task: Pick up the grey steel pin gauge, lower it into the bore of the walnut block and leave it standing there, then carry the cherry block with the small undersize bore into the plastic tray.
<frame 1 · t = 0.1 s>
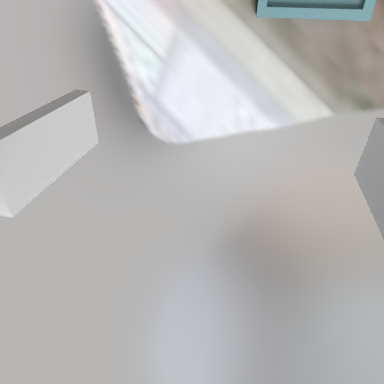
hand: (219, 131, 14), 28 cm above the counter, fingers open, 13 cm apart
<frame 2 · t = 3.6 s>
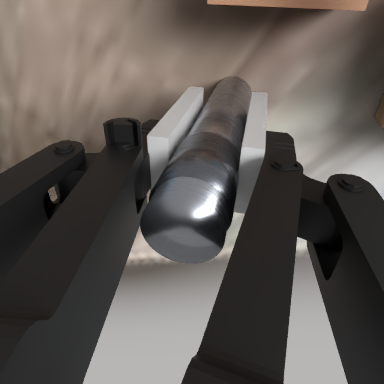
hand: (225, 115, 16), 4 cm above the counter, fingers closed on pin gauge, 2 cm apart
pin gauge: (232, 96, 19), on the counter, touching gripper
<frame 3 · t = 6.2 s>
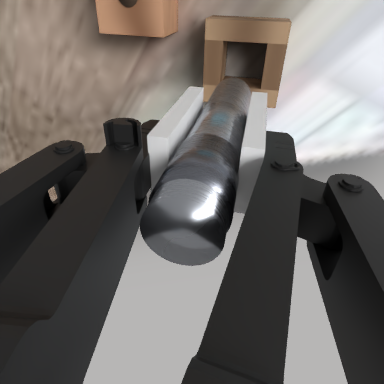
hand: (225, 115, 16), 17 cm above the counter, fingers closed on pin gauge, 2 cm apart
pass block: (245, 57, 29), on the counter
pin gauge: (232, 97, 19), point 13 cm above the counter, touching gripper
when the fingers open (5 cm above the counter, at t = 8.9 s): pin gauge drops 2 cm, resting in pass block.
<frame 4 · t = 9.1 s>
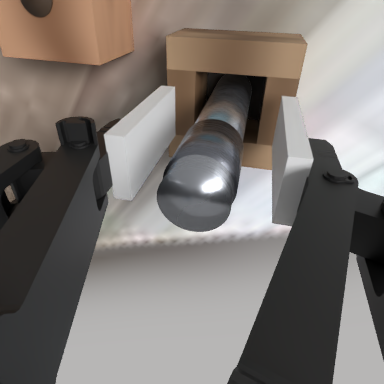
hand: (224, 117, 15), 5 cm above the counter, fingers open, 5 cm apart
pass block: (234, 90, 20), on the counter
pin gauge: (233, 90, 20), resting in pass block
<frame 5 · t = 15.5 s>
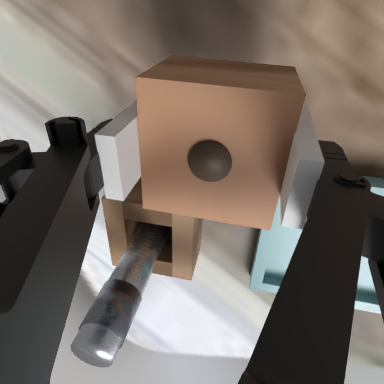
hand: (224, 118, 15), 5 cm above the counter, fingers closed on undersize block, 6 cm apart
tray: (334, 239, 24), on the counter
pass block: (163, 212, 26), on the counter
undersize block: (224, 120, 16), point 5 cm above the counter, touching gripper
pin gauge: (163, 211, 26), resting in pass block
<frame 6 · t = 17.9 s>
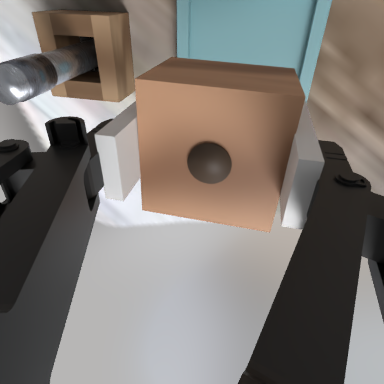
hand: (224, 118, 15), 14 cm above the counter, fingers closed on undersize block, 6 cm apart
tray: (244, 62, 27), on the counter
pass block: (99, 52, 29), on the counter
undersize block: (224, 121, 16), point 14 cm above the counter, touching gripper
pin gauge: (98, 51, 29), resting in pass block
when the fingers open (2 cm above the counter, at t = 20.3 s): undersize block stays where it is, resting on tray.
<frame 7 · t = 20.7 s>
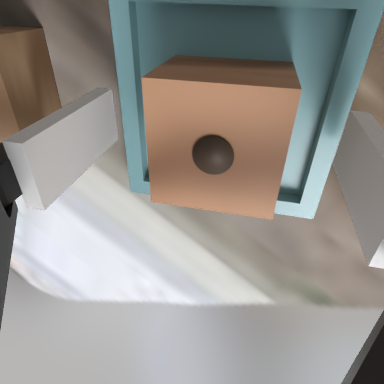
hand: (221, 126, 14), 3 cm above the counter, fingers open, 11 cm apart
tray: (228, 106, 17), on the counter
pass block: (9, 85, 19), on the counter
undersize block: (227, 115, 17), point 1 cm above the counter, touching tray
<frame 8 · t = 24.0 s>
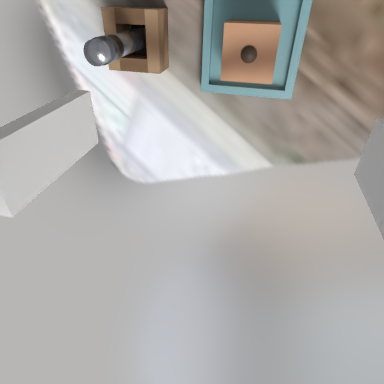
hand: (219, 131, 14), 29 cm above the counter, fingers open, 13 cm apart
tray: (251, 44, 37), on the counter
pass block: (143, 37, 39), on the counter
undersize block: (251, 47, 37), point 1 cm above the counter, touching tray
pin gauge: (142, 37, 39), resting in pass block
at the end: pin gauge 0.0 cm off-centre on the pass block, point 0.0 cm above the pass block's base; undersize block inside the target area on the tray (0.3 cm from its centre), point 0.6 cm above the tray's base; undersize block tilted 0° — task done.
